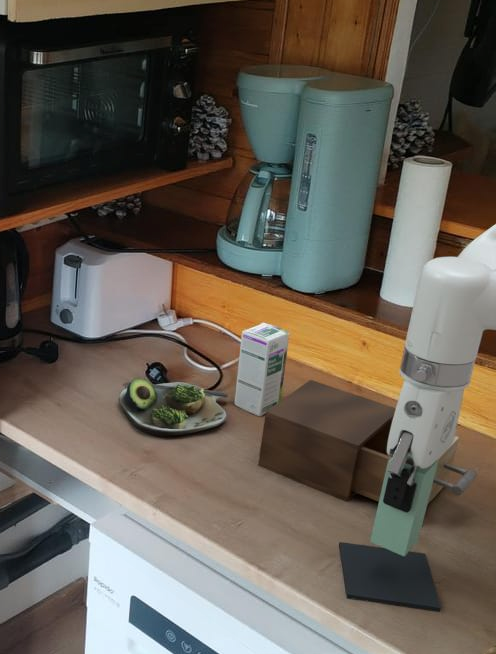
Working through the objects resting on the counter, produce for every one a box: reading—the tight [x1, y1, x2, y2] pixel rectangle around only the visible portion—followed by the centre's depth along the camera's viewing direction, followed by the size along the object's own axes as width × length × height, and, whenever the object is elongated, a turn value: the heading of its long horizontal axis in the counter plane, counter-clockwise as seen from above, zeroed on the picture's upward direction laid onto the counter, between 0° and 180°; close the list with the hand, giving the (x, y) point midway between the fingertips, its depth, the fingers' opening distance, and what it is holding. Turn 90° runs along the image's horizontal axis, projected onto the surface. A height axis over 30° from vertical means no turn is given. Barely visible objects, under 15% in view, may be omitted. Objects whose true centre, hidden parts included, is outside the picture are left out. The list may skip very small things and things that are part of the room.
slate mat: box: [338, 541, 442, 612], centre depth 117 cm, size 11×11×1 cm
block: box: [369, 454, 438, 557], centre depth 112 cm, size 4×4×12 cm
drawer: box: [351, 419, 478, 506], centre depth 132 cm, size 18×13×8 cm
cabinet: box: [257, 379, 396, 503], centre depth 139 cm, size 15×15×10 cm
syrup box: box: [233, 322, 291, 417], centre depth 155 cm, size 6×6×14 cm
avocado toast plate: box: [118, 378, 229, 437], centre depth 155 cm, size 19×18×5 cm
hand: (405, 497), depth 111 cm, fingers closed on block, 4 cm apart
